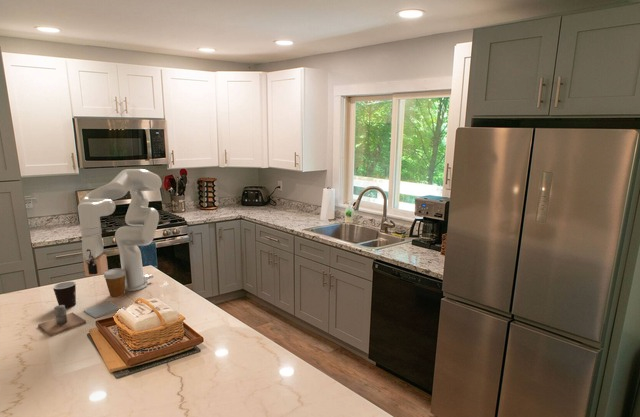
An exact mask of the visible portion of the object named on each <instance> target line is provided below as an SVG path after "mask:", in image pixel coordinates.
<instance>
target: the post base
mask: <svg viewBox="0 0 640 417" xmlns="http://www.w3.org/2000/svg"><path fill="white" fill-rule="evenodd" d="M66 310H67V309H65V305H56V306H55V307H54V314H55V318H52V319H50V320H47V321H44V322H41V323H39V324H37V326H38V328H39V329H41V330H42V331H43V332H44V333H46V334H47V335H48V336H50V337H53V336H56V335H59V334H62V333H63V332H67V331H70V330H72V329H74V328H77V327H80V326H83V325H84V324H85V325H86V324H87V320H85V319H83V318H82V317H81V316H79V315H77V314H76V313H74V312H70V313H67V312H66Z"/></svg>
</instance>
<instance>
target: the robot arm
mask: <svg viewBox="0 0 640 417" xmlns="http://www.w3.org/2000/svg"><path fill="white" fill-rule="evenodd" d="M162 183H163V182H162V179H161V177H160V175H158V174H156V173H154V172H151V171H150V170H147V169H143V168H126V169H123V170H122V171H120V172H119V173H118V174H117V175H116V176H115V177H114V178H113V179H112V180H111V181H110V182H109V183H107V184H105V185H102V186H100V187H97V188H95V189H93V190H91V191H89V192H88V193H87V194H86V195H85V196H84V197H83V198H82V199H81V200H80V202H79V203H78V205H77V210H78V211H77V213H78V219H79V227H80V233H81V244H82V245H81V250H82V258H83V260H84V259H85V261H86V263H87V266H88V271H89V274H97V266H96V265H95V259H96V258H97V257H98V256H99V255H104V243H103V237H102V234H103V232H102V223H101V217H107V216H110V215H112V214H114V212H115V210H116V203H115V201H114V200H117V199H118V200H119V199H121V198H123V197H124V196H126V195H127V194H128V192H129V194H130V198H131V199H130V203H129V205H128V208H127V212H126V214H125V217H124V221H125V224H126V225H124V226H120V227H118V228H117V229H116V231H115V233H114V238H115V241H116V244H117V248H118V251H119V259H120V266H121V268H122V269H124V270H125V271H126V274H125V292H135V291H139V290H142V289H144V288H146V287H148V285H149V282H148V280H150V279H154V276H153V274H145V275H144V269H143V268H144V267H143V259H142V252H141V249H140V248H139V246H140V247H141V246H149V245H150V244H152V242H153V240H154V238H155V235H156V232H157V228H158V225H159V221H160V214H159V211H158V210H157V209H156V208H154V207H149V201H150V200H149V199H148V197H147V196H146V194H145V193H144V192H157V191H160V189H162V185H163V184H162ZM90 257H93V258H90ZM91 260H93V262H92V261H91Z"/></svg>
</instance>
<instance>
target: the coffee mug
mask: <svg viewBox="0 0 640 417" xmlns="http://www.w3.org/2000/svg"><path fill="white" fill-rule="evenodd" d="M76 285H77V284H76V282H75V281H71V280H70V281H64V282H63V281H61V282H59V283H57V284H54V285H53V286H52V289H53V292H54V295H55V298H56V301H57V304H58V305H57V306H59V305H65V310H67V309H70V308H72V307H75V306H76V303H77V300H76V299H77V298H76V297H77V295H76V294H77V290H76V289H77V288H76Z"/></svg>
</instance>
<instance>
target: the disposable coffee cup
mask: <svg viewBox="0 0 640 417" xmlns="http://www.w3.org/2000/svg"><path fill="white" fill-rule="evenodd" d="M125 274H126V271H125V270H124V269H122V268H112V269H108V270H107V271H106V272H105V273H104V274H103V278H104V280H105V282H106V286H107V290H108V292H109V295H110V296H109V297H110V298H120V297H123V296H124V295H126V293H125V292H126V291H125Z"/></svg>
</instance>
